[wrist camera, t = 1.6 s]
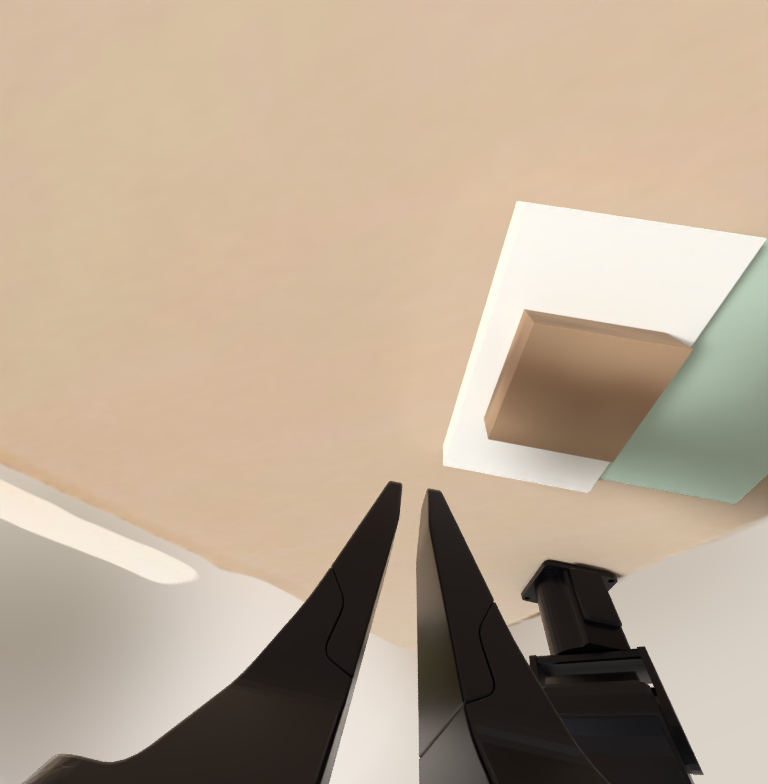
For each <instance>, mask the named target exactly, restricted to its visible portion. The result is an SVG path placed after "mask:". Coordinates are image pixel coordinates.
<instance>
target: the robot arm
mask: <svg viewBox="0 0 768 784" xmlns="http://www.w3.org/2000/svg"><path fill="white" fill-rule="evenodd" d="M401 495H402V484H401V483H399V482H394V481H390V482H388V484H387V485H386V487H385V488H384V490H383V491H382V493H381V494H380V495H379V497H378V498H377V500H376V501H375V503H374V504H373V506H372V507H371V509H370V510H369V512H368V513H367V514H366V516H365V517H364V519H363V520H362V522H361V523H360V525H359V526H358V528H357V529H356V531H355V532H354V534H353V535H352V536H351V538H350V539H349V541H348V542H347V544H346V545H345V547H344V548H343V550H342V551H341V553H340V554H339V556H338V557H337V558H336V560H335V561H334V563H333V564H332V566H331V568H329V570H328V571H327V573H326V574H325V576H324V577H323V579H322V580H321V581H320V583H319V584H318V586H317V587H316V588H315V590H314V591H313V592H312V594H311V595H310V596H309V598H308V599H307V600H306V601H305V603H304V604H303V605H302V606H301V608H300V609H299V610H298V611H297V612H296V614H295V615H294V616H293V617H292V618H291V619H290V620H289V622H288V623H287V624H286V625H285V626H284V627H283V628H282V630H281V631H280V632H279V633H278V634H277V635H276V637H275V638H274V639H273V640H272V641H271V642H270V643H269V644H268V646H267V647H266V648H265V649H264V650H263V651H262V653H261V654H260V655H259V656H258V657H257V658H256V659H255V660H254V661H253V662H252V664H251V665H250V666H249V667H248V668H247V669H246V670H245V671H244V672H243V673H242V674H241V675H240V676H239V677H238V678H237V679H236V680H234V681H233V682H232V683H231V684H230V685H229V686H227V687H226V688H225V689H223V690H222V691H221V692H219V693H218V694H217V695H216V696H214V697H213V698H212V699H210V700H209V701H208V702H206V703H205V704H204V705H202V706H201V707H200V708H199V709H197V710H196V711H195V712H193V713H192V714H191V715H189V716H188V717H187V718H185V719H184V720H183V721H181V722H180V723H179V724H178V725H176V726H175V727H174V728H172V729H171V730H170V731H168V732H167V733H166V734H164V735H163V736H162V737H160V738H159V739H158V740H157V741H155V742H154V743H153V744H151V745H150V746H149V747H147V748H146V749H144V750H142V751H141V752H139V753H138V754H136V755H134V756H131V757H129V758H127V759H124V760H120V761H116V762H102V761H98V760H94V759H90V758H86V757H82V756H77V755H72V754H57V755H55V756H54V757H52V758H51V759H49V760H48V761H47V762H46V763H45V764H44V765H43V766H41V767H40V768H39V769H38V770H37V771H36V772H35V773H34V774H32V775H31V776H30V777H29V778H28V779H27V780H26V781H24V782H23V783H22V784H329V781H330V777H331V773H332V770H333V766H334V762H335V758H336V754H337V751H338V748H339V744H340V739H341V736H342V733H343V729H344V725H345V722H346V718H347V714H348V710H349V707H350V703H351V699H352V696H353V692H354V688H355V684H356V681H357V677H358V673H359V669H360V666H361V662H362V659H363V655H364V651H365V648H366V644H367V640H368V636H369V633H370V629H371V625H372V622H373V618H374V614H375V611H376V607H377V603H378V599H379V596H380V592H381V588H382V585H383V581H384V577H385V574H386V570H387V566H388V562H389V558H390V554H391V550H392V546H393V541H394V537H395V533H396V529H397V525H398V521H399V515H400V505H401ZM416 577H417V644H418V704H419V705H418V710H419V757H420V759H419V777H420V778H419V781H420V784H694V782H693V780H692V777H691V775H690V774H694V775H703V772H702V770H701V768H700V766H699V764H698V761H697V759H696V757H695V755H694V752H693V750H692V748H691V746H690V744H689V741H688V739H687V737H686V735H685V733H684V730H683V728H682V726H681V724H680V722H679V719H678V717H677V715H676V713H675V711H674V709H673V706H672V704H671V702H670V700H669V698H668V696H667V694H666V691H665V689H664V687H663V685H662V682H661V680H660V678H659V676H658V674H657V672H656V670H655V667H654V665H653V663H652V661H651V659H650V657H649V655H648V652H647V650H646V648H645V647H637V649H630V646H629V644H628V642H627V639H626V637H625V634H624V632H623V630H622V627H621V626H622V623H621V621H620V618H619V617H618V614H617V611H616V609H615V607H614V605H613V602H612V600H611V598H610V595H609V593H608V591H609V590H610V589H611V588H612V587H613V586H614V585H615V584H616V583H617V578H616V576H615V575H614V574H611V573H606V572H601V571H596V570H591V569H586V568H582V567H577V566H572V565H567V564H562V563H557V562H552V561H545V562H543V563H542V565H541V566H540V568H539V569H538V570H537V572H536V573H535V575H534V576H533V577H532V579H531V580H530V582H529V583H528V584H527V586H526V587H525V589H524V590H523V592H522V593H521V596H522V599H523V600H525V601H529V602H534V603H538V606H539V610H540V614H541V618H542V622H543V625H544V630H545V633H546V638H547V642H548V646H549V650H550V654H551V655H549V656H536V655H533V656H529V658H530V665H528V663H527V661H526V660H525V658H524V656H523V654H522V653H521V651H520V649H519V647H518V646H517V644H516V642H515V641H514V639H513V637H512V635H511V633H510V631H509V629H508V627H507V625H506V623H505V621H504V619H503V617H502V615H501V613H500V611H499V609H498V607H497V605H496V603H495V602H493V601H494V599H493V597H492V595H491V593H490V591H489V589H488V587H487V584H486V582H485V580H484V578H483V576H482V574H481V572H480V570H479V568H478V566H477V564H476V562H475V560H474V558H473V556H472V554H471V552H470V550H469V548H468V545H467V543H466V541H465V539H464V537H463V535H462V533H461V531H460V529H459V527H458V525H457V523H456V521H455V519H454V517H453V515H452V513H451V511H450V508H449V506H448V504H447V502H446V500H445V498H444V496H443V494H442V492H441V491H439V490H435V489H428V490H427V491H426V495H425V498H424V502H423V505H422V510H421V519H420V529H419V539H418V549H417V561H416ZM649 683H653V686H654V687H653V688H652V687H651V688H650V686H649V685H648V684H649Z"/></svg>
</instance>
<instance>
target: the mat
mask: <svg viewBox="0 0 768 784" xmlns="http://www.w3.org/2000/svg"><path fill="white" fill-rule="evenodd" d="M691 348H692V349H693V350H692V352H691V353H690V355H689V356H688V357H687V359H686V360H685V362H684V363H683V364H682V366H681V367H680V369H679V370H678V371H677V373H676V374H675V376H674V377H673V379H672V380H671V381H670V383H669V384H668V386H667V387H666V388H665V390H664V391H663V393H662V394H661V395H660V397H659V398H658V400H657V401H656V403H655V404H654V405H653V407H652V408H651V410H650V411H649V412H648V414H647V415H646V417H645V418H644V419H643V421H642V422H641V424H640V425H639V427H638V428H637V429H636V431H635V432H634V434H633V435H632V436H631V438H630V439H629V441H628V442H627V443H626V445H625V446H624V448H623V449H622V451H621V452H620V453H619V455H618V456H617V458H616V459H615V460H614V462H610V463H609V465H608V466H607V467H606V469H605V470H604V472H603V473H602V475H601V476H600V477H599V479H604V480H609V481H614V482H620V483H625V484H630V485H636V486H641V487H646V488H652V489H657V490H662V491H667V492H673V493H678V494H683V495H689V496H694V497H699V498H704V499H710V500H715V501H720V502H726V503H731V504H736V503H737V502H739V501H740V500H741V499H742V498H743V497H744V496H745V495H746V494H747V493H748V492H750V491H751V490H752V489H753V488H754V487H755V486H756V485H757V484H758V483H759V482H761V481H762V480H763V479H764V478H765V477H766V476H767V475H768V239H766V241H765V242H764V243H763V245H762V246H761V248H760V249H759V251H758V252H757V253H756V255H755V256H754V258H753V259H752V261H751V262H750V263H749V265H748V266H747V268H746V269H745V270H744V272H743V273H742V275H741V276H740V278H739V279H738V280H737V282H736V283H735V285H734V286H733V288H732V289H731V290H730V292H729V293H728V295H727V296H726V298H725V299H724V300H723V302H722V303H721V305H720V306H719V308H718V309H717V310H716V312H715V313H714V315H713V316H712V318H711V319H710V320H709V322H708V323H707V325H706V326H705V328H704V329H703V330H702V332H701V333H700V335H699V336H698V338H697V339H696V340H695V342H694V343H693V345H692V346H691Z"/></svg>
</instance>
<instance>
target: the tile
mask: <svg viewBox="0 0 768 784" xmlns="http://www.w3.org/2000/svg"><path fill="white" fill-rule="evenodd" d="M692 350H693V349H692V348H690V347H689V346H687V345H685V344H684V343H682V342H681V341H679V340H677V339H676V338H674V337H672V336H671V335H669V334H667V333H665V332H659V331H653V330H647V329H641V328H635V327H629V326H623V325H617V324H611V323H605V322H599V321H593V320H587V319H580V318H574V317H568V316H562V315H556V314H550V313H544V312H538V311H532V310H526V309H524V311H523V313H522V316H521V319H520V322H519V324H518V327H517V330H516V332H515V335H514V338H513V341H512V343H511V346H510V349H509V351H508V354H507V357H506V359H505V362H504V365H503V368H502V370H501V373H500V376H499V378H498V381H497V384H496V387H495V389H494V392H493V395H492V397H491V400H490V403H489V406H488V408H487V411H486V414H485V416H484V422H485V427H486V432H487V437H488V439H489V440H494V441H500V442H505V443H511V444H516V445H521V446H527V447H532V448H537V449H543V450H548V451H554V452H559V453H564V454H570V455H575V456H580V457H586V458H591V459H597V460H602V461H607V462H614V460H615V459H616V458H617V456H618V455H619V453H620V452H621V451H622V449H623V448H624V446H625V445H626V443H627V442H628V441H629V439H630V438H631V436H632V435H633V434H634V432H635V431H636V429H637V428H638V427H639V425H640V424H641V422H642V421H643V419H644V418H645V417H646V415H647V414H648V412H649V411H650V410H651V408H652V407H653V405H654V404H655V403H656V401H657V400H658V398H659V397H660V395H661V394H662V393H663V391H664V390H665V388H666V387H667V386H668V384H669V383H670V381H671V380H672V379H673V377H674V376H675V374H676V373H677V371H678V370H679V369H680V367H681V366H682V364H683V363H684V362H685V360H686V359H687V357H688V356H689V355H690V353H691V352H692Z"/></svg>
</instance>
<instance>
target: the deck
mask: <svg viewBox="0 0 768 784" xmlns="http://www.w3.org/2000/svg"><path fill="white" fill-rule="evenodd" d="M766 239H767V238H762V237H756V236H749V235H742V234H736V233H729V232H722V231H715V230H709V229H702V228H695V227H689V226H682V225H675V224H669V223H662V222H655V221H649V220H642V219H635V218H629V217H622V216H615V215H609V214H602V213H595V212H589V211H582V210H575V209H569V208H562V207H555V206H548V205H542V204H535V203H528V202H520V201H517V202H516V206H515V209H514V212H513V216H512V219H511V222H510V226H509V229H508V232H507V236H506V239H505V242H504V246H503V249H502V252H501V256H500V259H499V262H498V265H497V269H496V272H495V275H494V279H493V282H492V285H491V289H490V292H489V295H488V299H487V302H486V305H485V309H484V312H483V315H482V319H481V322H480V325H479V329H478V332H477V335H476V339H475V342H474V345H473V349H472V352H471V355H470V358H469V362H468V365H467V368H466V372H465V375H464V378H463V382H462V385H461V388H460V392H459V395H458V398H457V402H456V405H455V408H454V412H453V415H452V418H451V422H450V425H449V428H448V432H447V435H446V438H445V442H444V445H443V464H444V466H449V467H454V468H459V469H465V470H470V471H475V472H480V473H486V474H491V475H496V476H501V477H507V478H512V479H517V480H522V481H527V482H533V483H538V484H543V485H548V486H554V487H559V488H564V489H569V490H574V491H580V492H585V493H589V492H590V490H591V489H592V487H593V486H594V484H595V483H596V482H597V480H598V479H599V477H600V476H601V475H602V473H603V472H604V470H605V469H606V467H607V466H608V465H609V463H610V462H607V461H602V460H597V459H591V458H586V457H580V456H575V455H570V454H564V453H559V452H554V451H548V450H543V449H537V448H532V447H527V446H521V445H516V444H511V443H505V442H500V441H494V440H489V439H488V437H487V432H486V427H485V422H484V416H485V414H486V411H487V408H488V406H489V403H490V400H491V397H492V395H493V392H494V389H495V387H496V384H497V381H498V378H499V376H500V373H501V370H502V368H503V365H504V362H505V359H506V357H507V354H508V351H509V349H510V346H511V343H512V341H513V338H514V335H515V332H516V330H517V327H518V324H519V322H520V319H521V316H522V313H523V311H524V309H526V310H532V311H538V312H544V313H550V314H556V315H562V316H568V317H574V318H580V319H587V320H593V321H599V322H605V323H611V324H617V325H623V326H629V327H635V328H641V329H647V330H653V331H659V332H665V333H667V334H669V335H671V336H672V337H674V338H676V339H677V340H679V341H681V342H682V343H684V344H685V345H687V346H689V347H690V348H691V346H692V345H693V343H694V342H695V340H696V339H697V338H698V336H699V335H700V333H701V332H702V330H703V329H704V328H705V326H706V325H707V323H708V322H709V320H710V319H711V318H712V316H713V315H714V313H715V312H716V310H717V309H718V308H719V306H720V305H721V303H722V302H723V300H724V299H725V298H726V296H727V295H728V293H729V292H730V290H731V289H732V288H733V286H734V285H735V283H736V282H737V280H738V279H739V278H740V276H741V275H742V273H743V272H744V270H745V269H746V268H747V266H748V265H749V263H750V262H751V261H752V259H753V258H754V256H755V255H756V253H757V252H758V251H759V249H760V248H761V246H762V245H763V243H764V242H765V241H766Z"/></svg>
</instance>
